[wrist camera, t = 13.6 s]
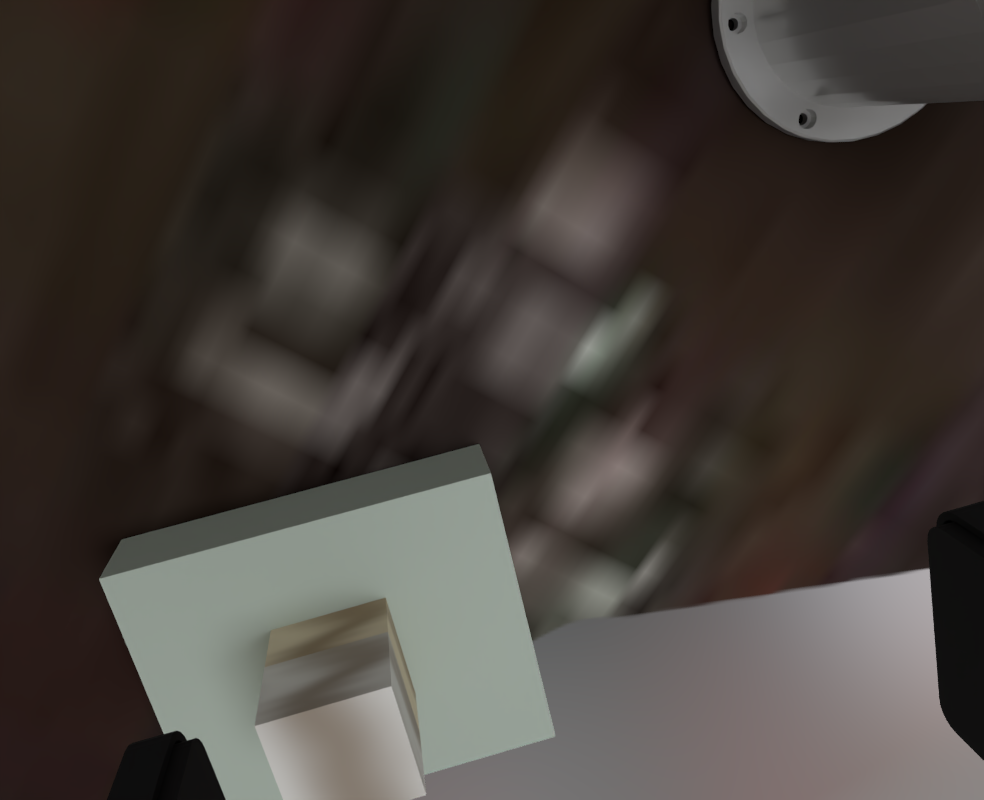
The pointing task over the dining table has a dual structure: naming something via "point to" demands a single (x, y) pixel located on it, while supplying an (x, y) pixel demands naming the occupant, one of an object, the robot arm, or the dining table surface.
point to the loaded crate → (341, 709)
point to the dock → (336, 609)
